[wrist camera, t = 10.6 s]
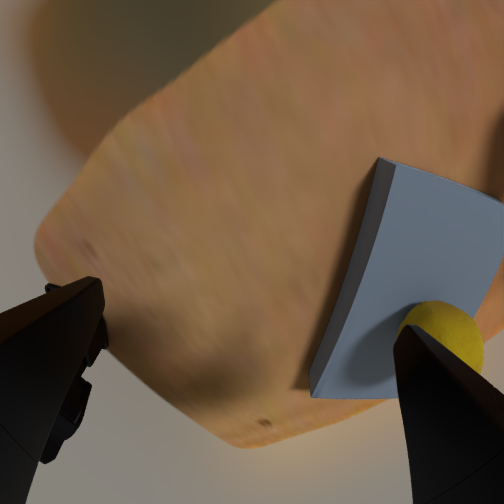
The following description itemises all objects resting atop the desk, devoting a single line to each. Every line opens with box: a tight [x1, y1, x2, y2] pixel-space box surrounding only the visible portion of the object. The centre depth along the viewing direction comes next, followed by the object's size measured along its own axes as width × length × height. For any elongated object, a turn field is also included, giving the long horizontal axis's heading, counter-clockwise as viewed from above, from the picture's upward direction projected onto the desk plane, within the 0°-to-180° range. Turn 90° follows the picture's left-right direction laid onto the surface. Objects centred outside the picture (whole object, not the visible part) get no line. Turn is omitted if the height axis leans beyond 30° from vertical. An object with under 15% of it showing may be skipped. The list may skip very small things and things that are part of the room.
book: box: [308, 157, 504, 399], centre depth 21 cm, size 12×20×3 cm, turn 172°
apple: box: [397, 300, 484, 374], centre depth 16 cm, size 6×6×8 cm
